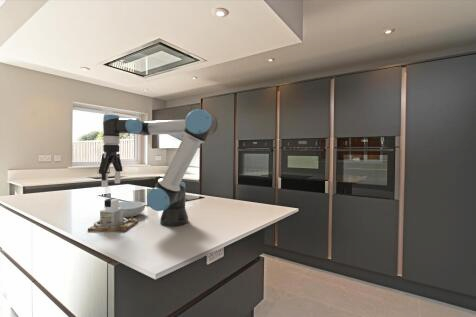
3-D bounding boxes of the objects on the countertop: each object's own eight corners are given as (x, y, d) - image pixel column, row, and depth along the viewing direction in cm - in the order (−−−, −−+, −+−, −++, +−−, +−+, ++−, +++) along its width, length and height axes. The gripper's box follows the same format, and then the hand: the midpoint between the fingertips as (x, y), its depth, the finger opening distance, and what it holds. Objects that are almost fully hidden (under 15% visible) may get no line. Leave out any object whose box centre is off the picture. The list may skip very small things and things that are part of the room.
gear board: (138, 222, 134) (138, 215, 134) (124, 231, 118) (124, 223, 118) (105, 221, 134) (105, 214, 134) (87, 231, 118) (87, 223, 118)
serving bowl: (99, 218, 140) (98, 206, 140) (126, 210, 160) (126, 200, 160) (127, 222, 134) (127, 210, 133) (152, 213, 153) (152, 202, 153)
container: (99, 225, 122) (99, 200, 122) (109, 221, 130) (109, 197, 130) (113, 226, 121) (113, 200, 121) (123, 221, 129) (123, 197, 129)
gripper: (115, 145, 138) (115, 181, 139) (90, 143, 113) (90, 188, 114) (128, 145, 139) (128, 182, 139) (106, 143, 114) (106, 188, 114)
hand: (111, 185), depth 127 cm, fingers open, 13 cm apart
